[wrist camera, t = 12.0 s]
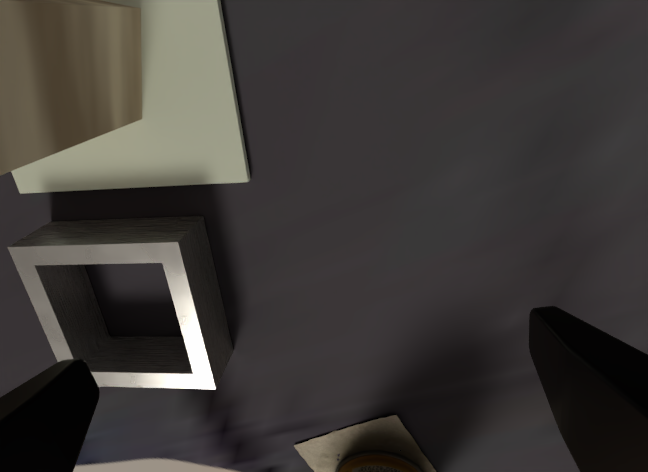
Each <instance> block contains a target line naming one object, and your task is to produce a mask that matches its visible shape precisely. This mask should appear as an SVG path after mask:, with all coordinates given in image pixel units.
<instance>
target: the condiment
mask: <svg viewBox="0 0 648 472" xmlns="http://www.w3.org/2000/svg"><path fill="white" fill-rule="evenodd" d="M294 447H295V448H296V449H297V451H298V452H299V454H300V455H301V456H302V457H303V458H304V459H305V460H306V462H307V463H308V465H309V466H310V467H311V468H312V469H313V470H314V472H436V470H435V469H434V468H433V466H432V464H431V463H430V462H429V461H428V459H427V458H426V456H424V454H423V453H422V452H421V450H420V448H419V446H418V445H417V444H416V442H415V441H414V439H413V437H412V436H411V435H410V433H409V432H408V431H407V430H406V428H405V427H404V426H403V424H402V422H401V421H400V420H399V418H398V417H397V415H393V416H389V417H386V418H379V419H376V420H372V421H369V422H366V423H363V424H358V425H354V426H351V427H348V428H345V429H342V430H339V431H333V432H331V433H329V434H327V435H325V436H322V437H318V438H314V439H310V440H309V441H306V442H303V443H300V444H297V445H294ZM399 450H401V451H399ZM339 453H340V456H339V457H337V454H339ZM337 458H339V459H340V460H339V461H337Z"/></svg>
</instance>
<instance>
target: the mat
mask: <svg viewBox="0 0 648 472" xmlns="http://www.w3.org/2000/svg"><path fill="white" fill-rule="evenodd" d="M101 1H106V2H111V3H116V4H121V5H127V6H132V7H137V8H141V66H142V119H141V120H138V121H136V122H133V123H131V124H128V125H126V126H123V127H121V128H118V129H116V130H113V131H111V132H108V133H106V134H103V135H101V136H98V137H96V138H93V139H91V140H88V141H86V142H83V143H81V144H78V145H75V146H73V147H70V148H68V149H65V150H63V151H60V152H58V153H55V154H53V155H50V156H48V157H45V158H43V159H40V160H38V161H35V162H33V163H30V164H28V165H25V166H23V167H20V168H17V169H15V170H12V171H11V172H12V174H13V177H14V179H15V182H16V184H17V187H18V189H19V192H20V193H40V192H60V191H79V190H99V189H119V188H139V187H159V186H179V185H199V184H219V183H239V182H249V181H250V173H249V167H248V161H247V155H246V149H245V143H244V137H243V131H242V125H241V119H240V114H239V108H238V102H237V96H236V90H235V84H234V78H233V72H232V66H231V60H230V54H229V49H228V43H227V37H226V31H225V25H224V19H223V13H222V7H221V1H220V0H101Z"/></svg>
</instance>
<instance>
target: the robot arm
mask: <svg viewBox="0 0 648 472" xmlns="http://www.w3.org/2000/svg"><path fill="white" fill-rule="evenodd" d="M529 349H530V354H531V357H532V360H533V362H534V365H535V368H536V370H537V373H538V376H539V378H540V381H541V383H542V386H543V389H544V391H545V394H546V397H547V399H548V402H549V405H550V407H551V410H552V412H553V415H554V418H555V420H556V423H557V425H558V428H559V430H560V433H561V435H562V437H563V439H564V441H565V443H566V445H567V447H568V449H569V451H570V453H571V455H572V457H573V459H574V461H575V462H576V464H577V466H578V468H579V470H580V472H648V355H647V354H645V353H643V352H642V351H640V350H638V349H636V348H634V347H632V346H630V345H628V344H626V343H624V342H622V341H621V340H619V339H617V338H615V337H613V336H611V335H609V334H607V333H605V332H603V331H602V330H600V329H598V328H596V327H594V326H592V325H590V324H588V323H586V322H584V321H583V320H581V319H579V318H577V317H575V316H573V315H571V314H569V313H567V312H565V311H563V310H562V309H560V308H558V307H555V306H548V307H539V308H533V309H532V310H531V312H530V320H529ZM98 400H99V387H98V385H97V383H96V381H95V379H94V377H93V375H92V373H91V371H90V369H89V367H88V365H87V363H86V362H85V361H84V360H83V359H80V358H77V359H67V360H62V361H60V362H58V363H56V364H54V365H53V366H51V367H50V368H48V369H46V370H45V371H43V372H41V373H40V374H38V375H37V376H35V377H33V378H32V379H30V380H28V381H27V382H25V383H23V384H22V385H20V386H19V387H17V388H15V389H14V390H12V391H10V392H9V393H7V394H6V395H4V396H2V397H1V398H0V472H73V469H74V467H75V464H76V462H77V459H78V456H79V454H80V451H81V448H82V445H83V442H84V439H85V437H86V434H87V431H88V428H89V425H90V423H91V420H92V417H93V414H94V411H95V409H96V406H97V403H98Z"/></svg>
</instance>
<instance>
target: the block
mask: <svg viewBox="0 0 648 472" xmlns="http://www.w3.org/2000/svg"><path fill="white" fill-rule="evenodd" d="M141 119H142V66H141V8H137V7H132V6H127V5H121V4H116V3H111V2H106V1H101V0H0V175H2V174H5V173H7V172H10V171H12V170H15V169H17V168H20V167H23V166H25V165H28V164H30V163H33V162H35V161H38V160H40V159H43V158H45V157H48V156H50V155H53V154H55V153H58V152H60V151H63V150H65V149H68V148H70V147H73V146H75V145H78V144H81V143H83V142H86V141H88V140H91V139H93V138H96V137H98V136H101V135H103V134H106V133H108V132H111V131H113V130H116V129H118V128H121V127H123V126H126V125H128V124H131V123H133V122H136V121H138V120H141Z"/></svg>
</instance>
